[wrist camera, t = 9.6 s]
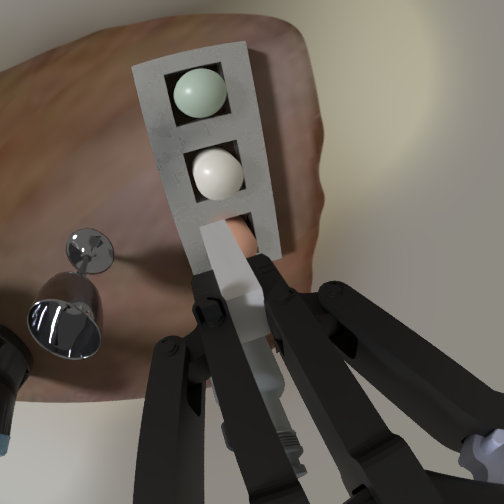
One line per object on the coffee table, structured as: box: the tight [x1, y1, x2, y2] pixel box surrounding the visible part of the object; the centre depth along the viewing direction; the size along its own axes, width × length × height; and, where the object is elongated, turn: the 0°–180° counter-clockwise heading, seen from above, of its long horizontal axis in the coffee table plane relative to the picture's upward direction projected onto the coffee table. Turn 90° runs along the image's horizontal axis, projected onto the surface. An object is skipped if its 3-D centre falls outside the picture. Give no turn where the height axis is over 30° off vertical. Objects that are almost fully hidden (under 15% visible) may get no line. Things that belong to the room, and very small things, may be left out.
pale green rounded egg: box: [174, 69, 227, 118], centre depth 25 cm, size 5×5×5 cm
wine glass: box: [27, 229, 114, 360], centre depth 27 cm, size 8×8×15 cm
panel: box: [132, 41, 282, 275], centre depth 32 cm, size 12×28×3 cm, turn 10°
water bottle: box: [210, 336, 307, 479], centre depth 35 cm, size 10×10×28 cm
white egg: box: [192, 146, 244, 200], centre depth 30 cm, size 5×5×5 cm
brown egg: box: [225, 215, 258, 258], centre depth 35 cm, size 5×5×5 cm
